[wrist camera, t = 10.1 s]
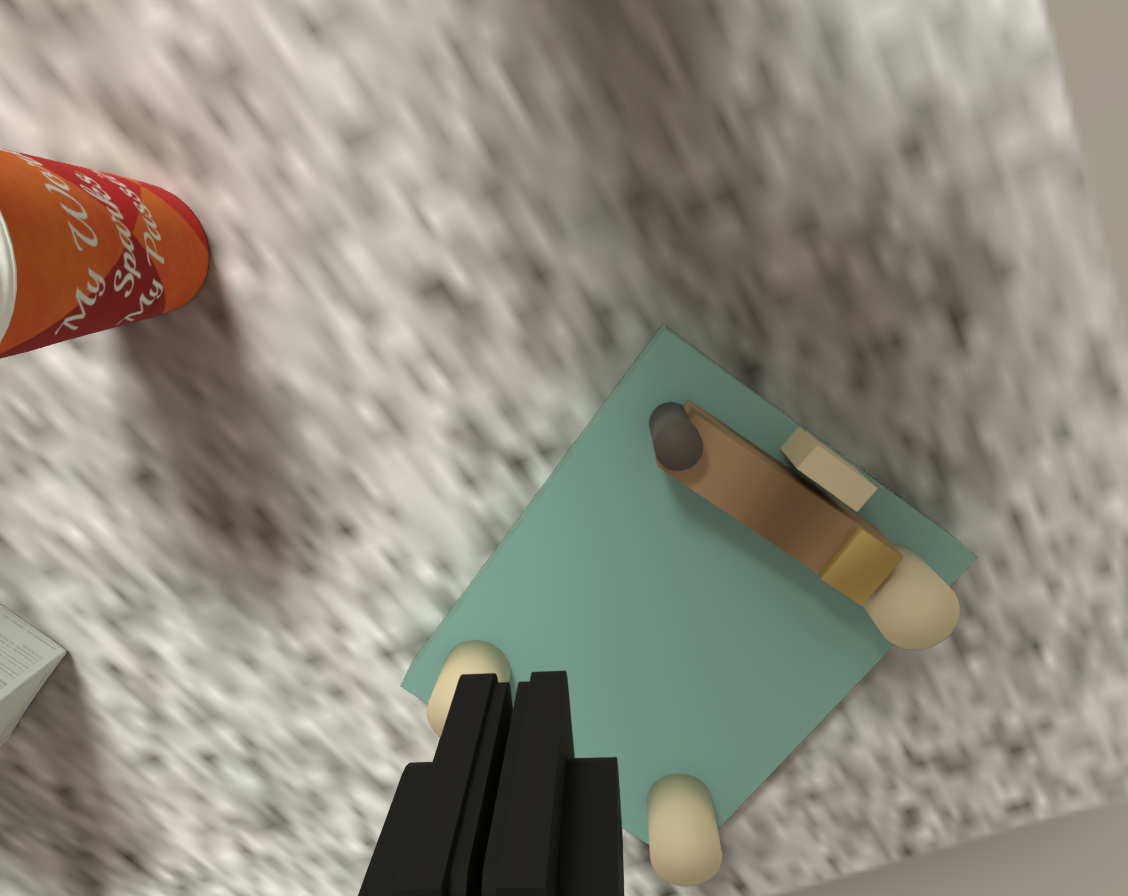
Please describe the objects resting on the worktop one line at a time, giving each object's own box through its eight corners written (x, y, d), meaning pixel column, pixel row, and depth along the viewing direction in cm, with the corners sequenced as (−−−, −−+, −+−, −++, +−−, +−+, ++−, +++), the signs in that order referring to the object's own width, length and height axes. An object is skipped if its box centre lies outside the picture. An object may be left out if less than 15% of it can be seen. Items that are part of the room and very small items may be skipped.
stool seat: (662, 324, 33) (672, 340, 28) (957, 539, 35) (1020, 593, 29) (410, 663, 38) (378, 731, 33) (679, 836, 40) (689, 926, 35)
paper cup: (256, 317, 34) (22, 366, 20) (101, 351, 35) (-221, 420, 21) (199, 135, 32) (-100, 57, 18) (37, 176, 33) (-362, 129, 19)
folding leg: (635, 434, 32) (639, 461, 28) (670, 387, 31) (679, 407, 27) (839, 571, 33) (869, 614, 29) (876, 527, 32) (912, 566, 29)
